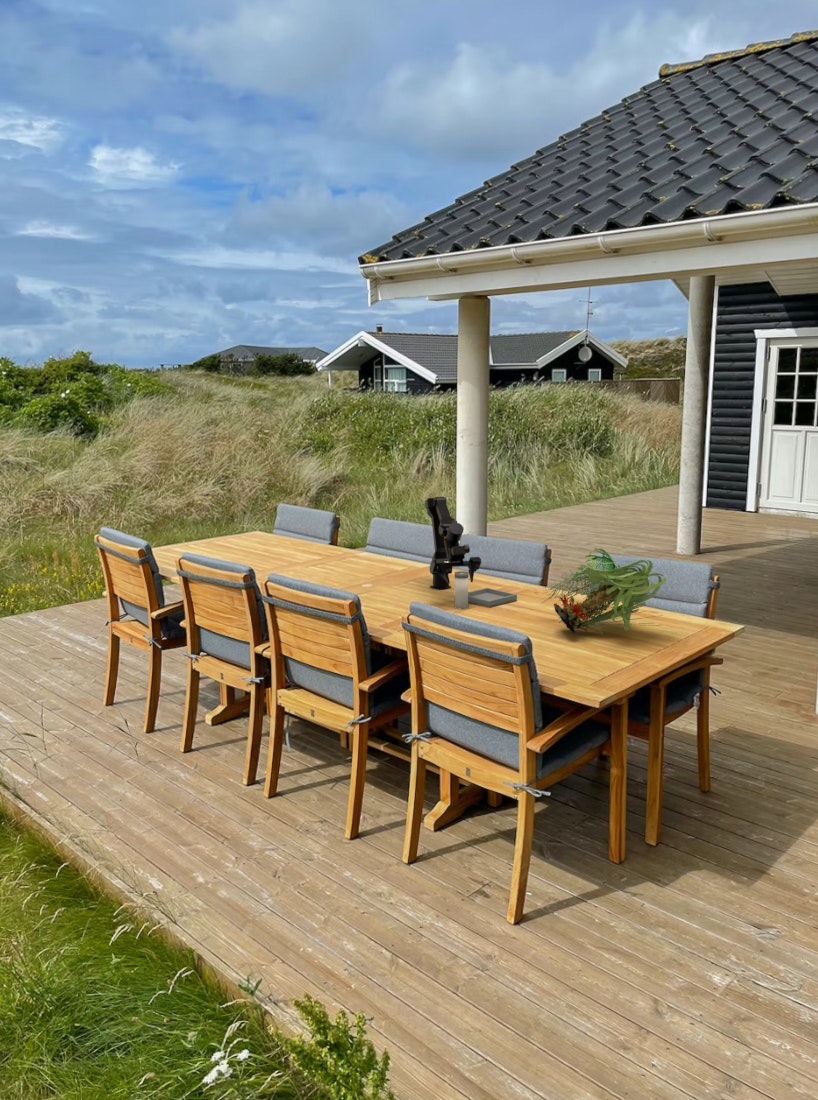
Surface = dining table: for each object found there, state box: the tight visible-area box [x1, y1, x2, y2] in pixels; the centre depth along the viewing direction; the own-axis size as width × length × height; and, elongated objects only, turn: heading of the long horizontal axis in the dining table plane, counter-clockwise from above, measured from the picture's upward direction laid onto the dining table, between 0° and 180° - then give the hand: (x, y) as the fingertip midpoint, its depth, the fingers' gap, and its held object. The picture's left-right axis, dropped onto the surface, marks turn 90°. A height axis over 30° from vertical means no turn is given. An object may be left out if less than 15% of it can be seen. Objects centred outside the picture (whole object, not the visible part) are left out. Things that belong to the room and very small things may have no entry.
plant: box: [534, 548, 667, 636], centre depth 294 cm, size 35×35×40 cm
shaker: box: [454, 570, 470, 610], centre depth 331 cm, size 5×5×14 cm
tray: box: [468, 587, 518, 609], centre depth 342 cm, size 16×16×2 cm
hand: (460, 582), depth 332 cm, fingers open, 9 cm apart
